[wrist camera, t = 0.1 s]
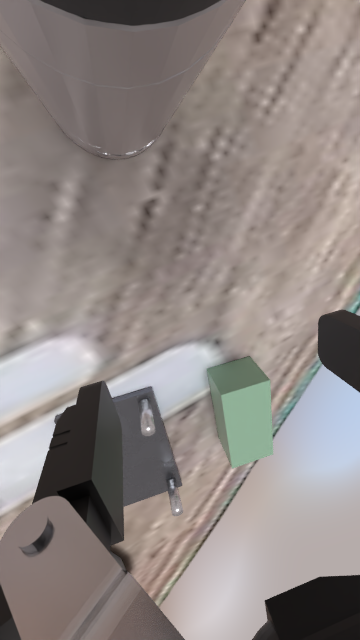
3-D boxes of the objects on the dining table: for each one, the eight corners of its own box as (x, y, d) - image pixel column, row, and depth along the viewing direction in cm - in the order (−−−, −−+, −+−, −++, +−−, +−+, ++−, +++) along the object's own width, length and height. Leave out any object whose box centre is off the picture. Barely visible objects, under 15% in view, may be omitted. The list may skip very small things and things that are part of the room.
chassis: (55, 416, 29) (45, 452, 25) (151, 386, 30) (157, 416, 26) (106, 506, 37) (105, 546, 33) (181, 480, 38) (189, 515, 34)
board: (206, 367, 31) (221, 395, 27) (248, 355, 32) (270, 379, 27) (218, 436, 36) (232, 468, 32) (254, 424, 37) (273, 454, 33)
